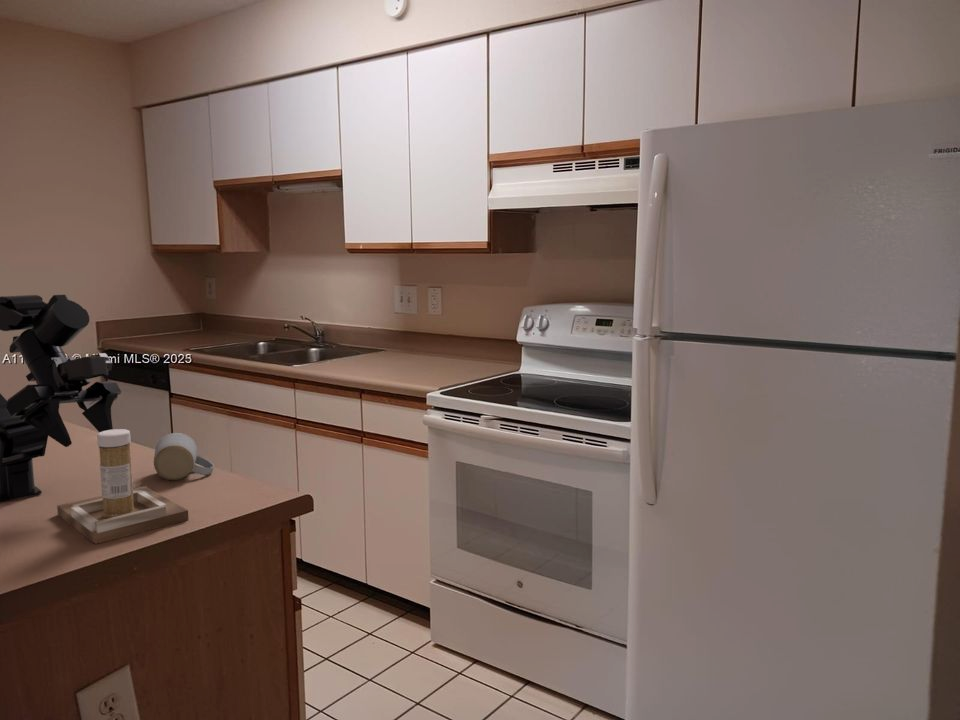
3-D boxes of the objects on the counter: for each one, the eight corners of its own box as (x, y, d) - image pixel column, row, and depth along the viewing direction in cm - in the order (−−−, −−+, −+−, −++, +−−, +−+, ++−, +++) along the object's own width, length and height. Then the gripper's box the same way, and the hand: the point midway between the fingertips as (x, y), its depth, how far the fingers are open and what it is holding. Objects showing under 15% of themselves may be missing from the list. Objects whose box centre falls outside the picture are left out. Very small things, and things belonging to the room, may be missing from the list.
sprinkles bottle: (137, 508, 115) (132, 427, 113) (132, 518, 111) (127, 434, 109) (105, 511, 114) (100, 429, 112) (99, 521, 110) (93, 435, 108)
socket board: (57, 514, 117) (56, 496, 116) (145, 494, 127) (144, 478, 126) (95, 544, 105) (93, 524, 105) (188, 519, 115) (187, 501, 115)
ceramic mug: (153, 484, 133) (152, 444, 132) (156, 471, 140) (154, 433, 139) (214, 479, 136) (213, 440, 135) (213, 467, 144) (212, 430, 143)
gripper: (35, 333, 108) (83, 421, 106) (122, 336, 126) (164, 412, 124) (-16, 372, 110) (30, 459, 108) (76, 370, 128) (117, 445, 126)
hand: (90, 442), depth 117 cm, fingers open, 9 cm apart
